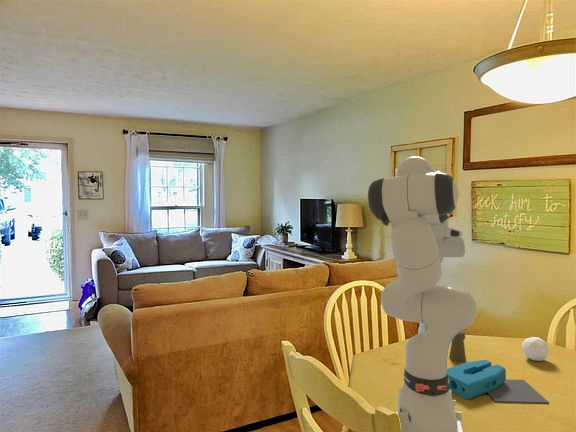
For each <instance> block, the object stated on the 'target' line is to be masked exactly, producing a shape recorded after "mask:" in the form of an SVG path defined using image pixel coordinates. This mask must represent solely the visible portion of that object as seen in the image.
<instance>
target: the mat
mask: <svg viewBox="0 0 576 432" xmlns="http://www.w3.org/2000/svg"><path fill="white" fill-rule="evenodd" d="M486 394H487V395H488V396H489V397H490V398H491V400H492V401H493V402H495V403H513V404H517V403H519V404H550V402H549V400H547V399H546V398H545V397H544V396H543V395H541V393H539V392H538V391H537V390H536V389H535V388H534V387H532V385H530V383H528V382H527V381H526V380H525V379H507V378H506V380H505V381H504V382H503V383H502V384H501V385H500V386H499V387H498V388H496V389H494V390H491V391H488V392H486Z"/></svg>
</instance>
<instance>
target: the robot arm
mask: <svg viewBox="0 0 576 432" xmlns="http://www.w3.org/2000/svg"><path fill="white" fill-rule="evenodd" d="M366 198H367V204H368V208H369V211H370V212H371V214H372V215H373V216H374V217H375V218H376V219H377V220H378V221H381V223H382V225H384V226H386V227H388V226H389V225H390V224H391V248H392V254H393V259H394V263H395V266H396V272H397V275H396V276H397V277H396V279H395V280H393V281H392V282H388V284H386V286H385V287H384V288H383V290H382V292H381V295H380V305H381V308H382V309H383V311H384V313H385V315H387V316H389V317H392V318H394V319H396V320H400V321H405V322H412V323H419V324H423V325H427V331H425V332H421V333H417V334H415V335H413V336H411V337H410V338H409V339H408V340H407V342H406V344H405V367H404V369H403V370H404V371H403V381H404V383H403V384H402V386H401V387H400V388H399V389H398V393H397V394H398V396H397V397H398V398H397V411H395V412H396V413H397V414H398V415H399V417H400V423H401V431H400V432H464V430H463V426H462V422H461V421H462V420H463V415H462V411H458V410H456V408H455V406H457V400H456V399H454V398H453V396H452V395H453V394H452V393H453V392H452V391H451V390H450V388H449V378H448V373H447V369H448V356H449V355H448V354H449V348H450V346H451V344H452V339H453V338H454V337H455V335H456V334H457V333H459V332H460V331H462V330H465V329H466V328H469V327H470V326H471V325H472V324H473V323H474V321H475V319H476V316H477V315H478V314H477V313H478V306H477V303H476V300H475V298H474V296H473V295H472V294H471V293H470V292H469V291H466V290H465V289H464V290H463V289H461V288H456V287H454V286H443V285H437V284H438V283H439V281H440V279H441V278H442V275H443V274H442V272H443V270H442V262H443V260H444V258H464V256H465V254H466V247H465V241H464V238H462V237H463V232H462V231H461V230H459V229H456V228H453V227H450V226H449V221H448V219H450V218H451V214H452V213H453V211H454V210H456V207H457V206H456V205H457V203H458V201H459V187H458V185H457V183H456V182H455V180H454V177H452V176H451V175H450V174H448V173H445V172H442V171H440V170H437V171H436V169H435V168H434V166H433V165H432V164H431V163H430V162H429V161H428V160H427V159H425V158H423V157H421V156H411V157H407V158H405V159H404V160H402V161H401V162H400V163H399V165H398V166H397V169H396V176H392V177H388V178H386V177H382V178H379V179H376V180H373V181H372V182H371V184H370V185H369V187H368V190H367V197H366Z"/></svg>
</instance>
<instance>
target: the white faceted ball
mask: <svg viewBox="0 0 576 432" xmlns="http://www.w3.org/2000/svg"><path fill="white" fill-rule="evenodd" d="M521 345H522V349H521V350H522V352H523V354H524V355H525V356H526V357H527V358H528V359H529V360H531V361H538V362H540V361H543V360H544V361H545V360H546V359H547V358H548V356H549V355H550V346H549V344H547V342H546V341H545V340H544V339H541V338H540V337H539V336H537V337H535V336H531V337H528V338H525V339H524V341H522V342H521Z"/></svg>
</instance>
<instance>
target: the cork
mask: <svg viewBox="0 0 576 432" xmlns="http://www.w3.org/2000/svg"><path fill="white" fill-rule="evenodd" d="M465 339H466V334H465V332H464V331H462V330H461V331H460V332H459V333H457V334H456V335H455V337H454V338H453V339H452V341H451V343H450V351H449V358H448V359H449V360H451V361H453V362H456V363H466V362H467V358H466V349H465V348H466V347H465Z"/></svg>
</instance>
